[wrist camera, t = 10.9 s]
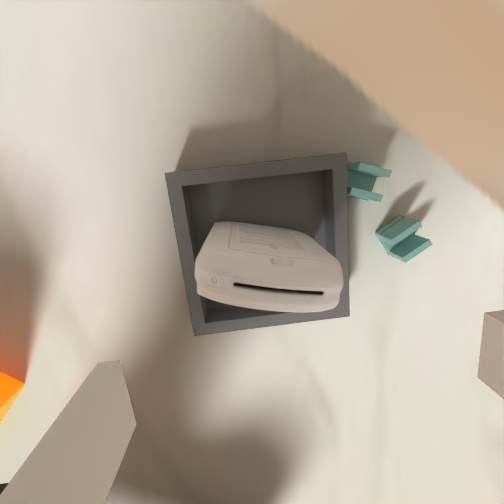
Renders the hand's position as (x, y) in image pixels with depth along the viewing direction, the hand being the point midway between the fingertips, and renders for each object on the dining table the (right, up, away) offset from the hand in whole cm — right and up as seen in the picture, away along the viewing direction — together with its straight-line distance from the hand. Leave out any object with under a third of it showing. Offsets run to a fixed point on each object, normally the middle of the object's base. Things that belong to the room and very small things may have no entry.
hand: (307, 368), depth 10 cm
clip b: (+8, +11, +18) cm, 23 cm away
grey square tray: (-1, +5, +19) cm, 20 cm away
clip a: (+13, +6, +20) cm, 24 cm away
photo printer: (-1, +5, +19) cm, 20 cm away
